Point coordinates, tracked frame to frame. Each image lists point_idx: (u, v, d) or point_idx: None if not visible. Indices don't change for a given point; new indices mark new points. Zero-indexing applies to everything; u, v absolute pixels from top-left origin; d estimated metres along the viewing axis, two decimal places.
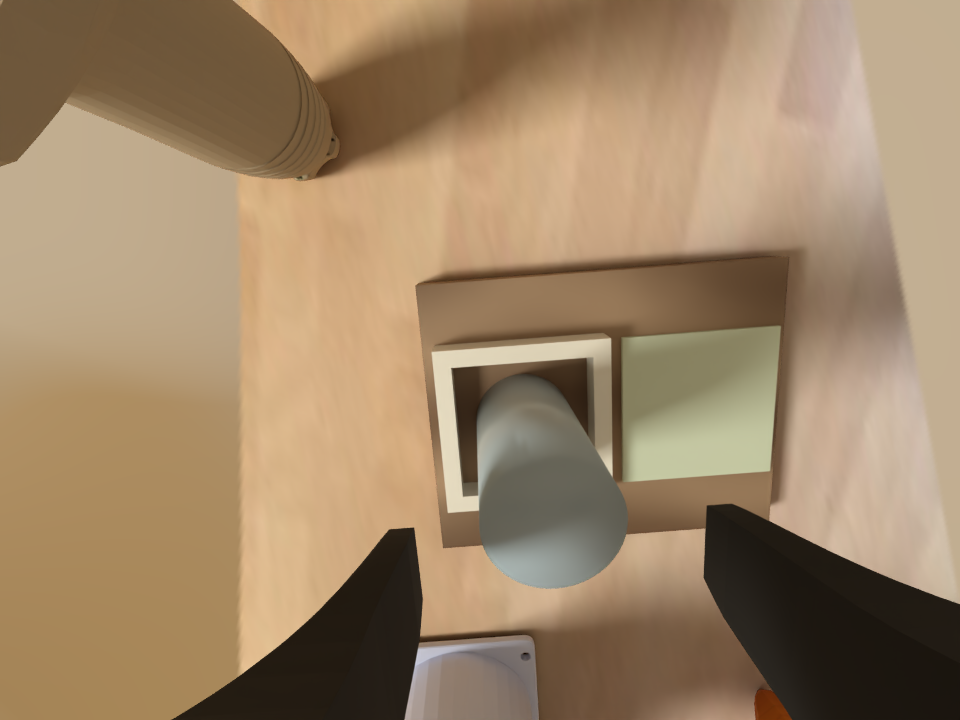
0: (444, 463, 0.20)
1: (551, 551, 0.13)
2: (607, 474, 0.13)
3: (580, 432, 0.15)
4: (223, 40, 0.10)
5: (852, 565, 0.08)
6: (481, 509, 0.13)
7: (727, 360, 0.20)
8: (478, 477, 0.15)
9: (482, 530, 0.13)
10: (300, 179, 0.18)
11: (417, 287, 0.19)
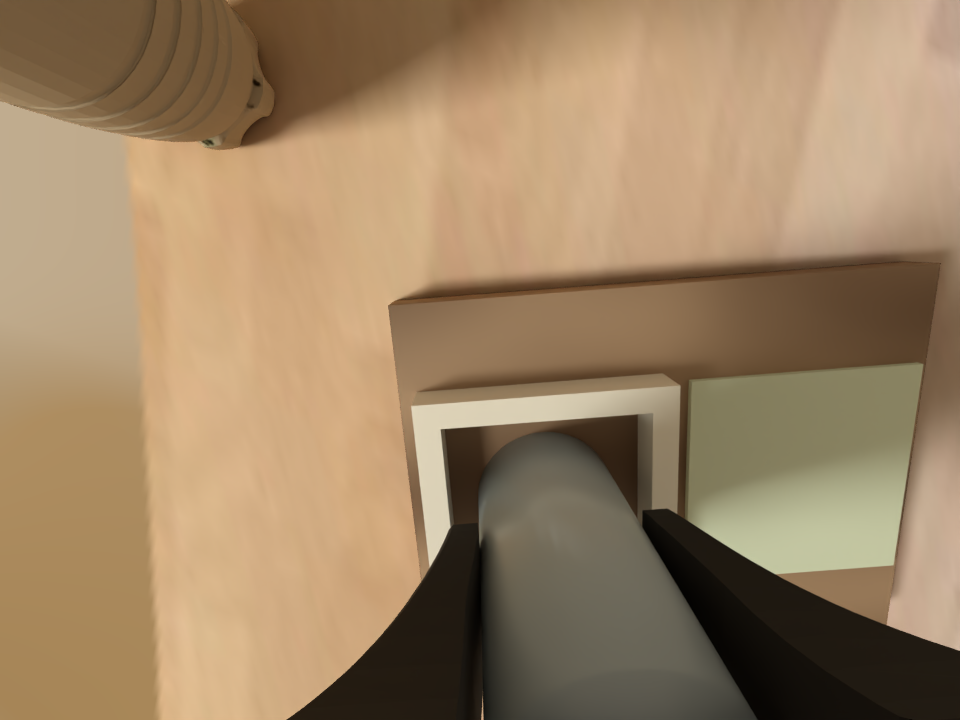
0: (431, 564, 0.14)
1: None
2: (737, 698, 0.06)
3: (656, 566, 0.09)
4: None
5: (763, 572, 0.08)
6: None
7: (843, 413, 0.14)
8: (482, 641, 0.09)
9: None
10: (211, 146, 0.12)
11: (391, 308, 0.13)
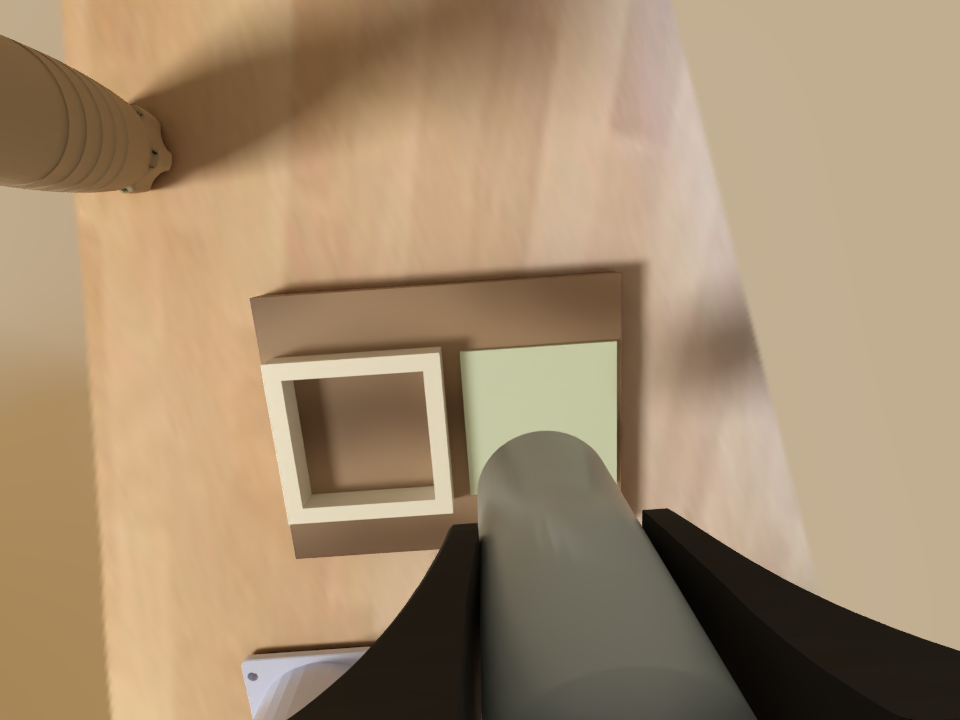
0: (281, 475, 0.20)
1: None
2: (736, 695, 0.06)
3: (655, 564, 0.09)
4: None
5: (763, 572, 0.08)
6: None
7: (566, 375, 0.20)
8: (480, 639, 0.09)
9: None
10: (126, 192, 0.18)
11: (252, 300, 0.19)
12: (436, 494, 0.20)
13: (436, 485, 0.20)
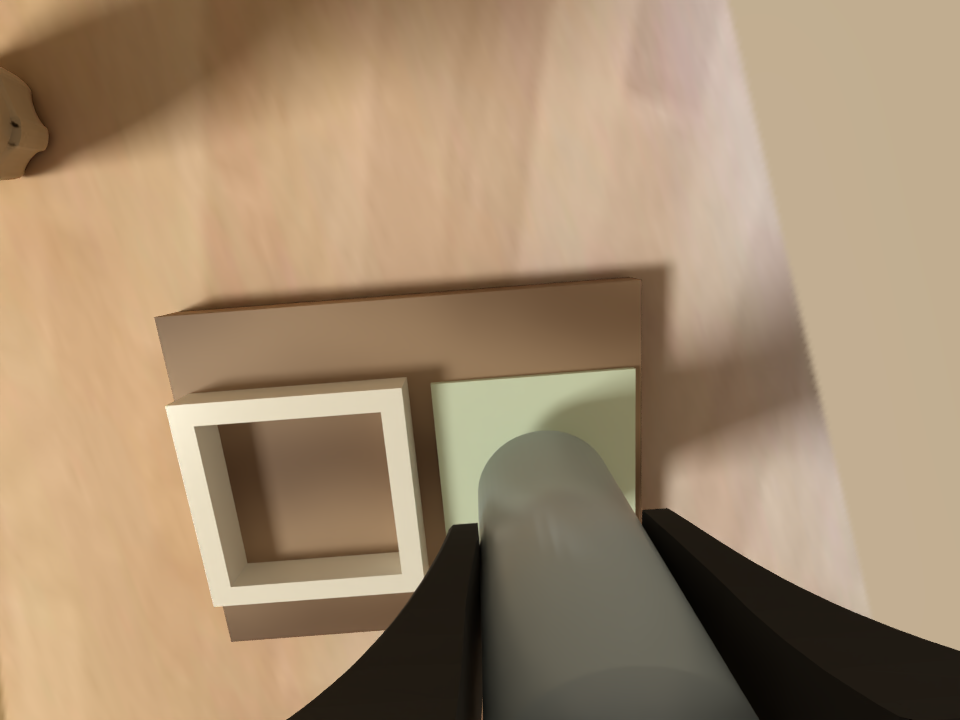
0: (201, 546, 0.15)
1: None
2: (737, 695, 0.06)
3: (656, 564, 0.09)
4: None
5: (763, 572, 0.08)
6: None
7: (570, 412, 0.15)
8: (481, 639, 0.09)
9: None
10: None
11: (157, 319, 0.15)
12: (403, 567, 0.16)
13: (402, 556, 0.16)
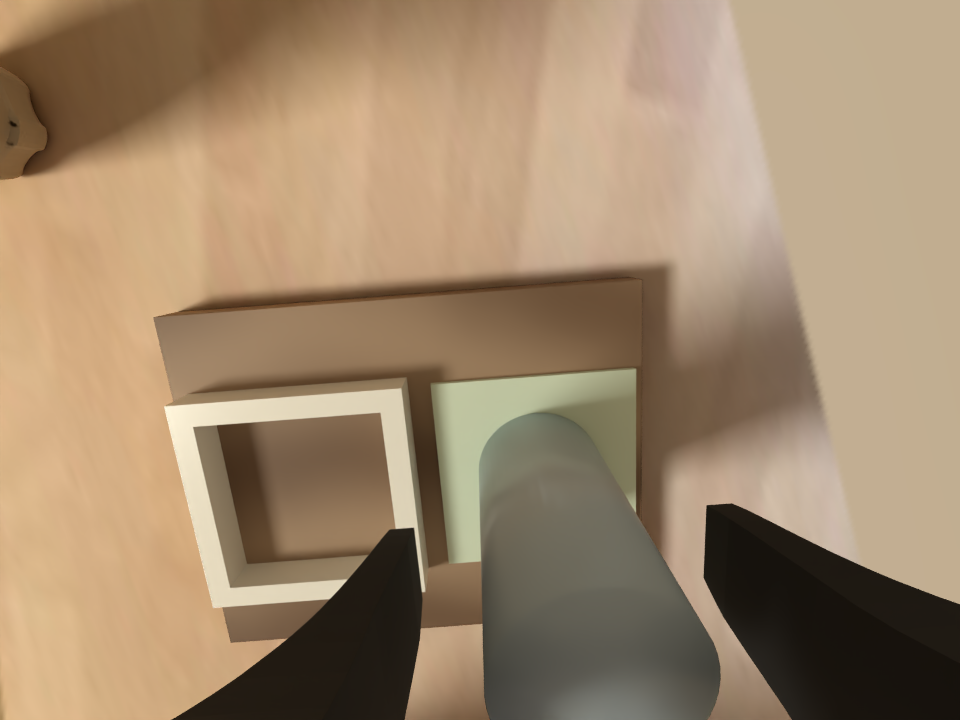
0: (200, 547, 0.15)
1: None
2: (690, 613, 0.08)
3: (631, 519, 0.10)
4: None
5: (852, 565, 0.08)
6: (487, 665, 0.08)
7: (570, 412, 0.15)
8: (482, 584, 0.10)
9: (489, 697, 0.08)
10: None
11: (156, 319, 0.15)
12: None
13: None
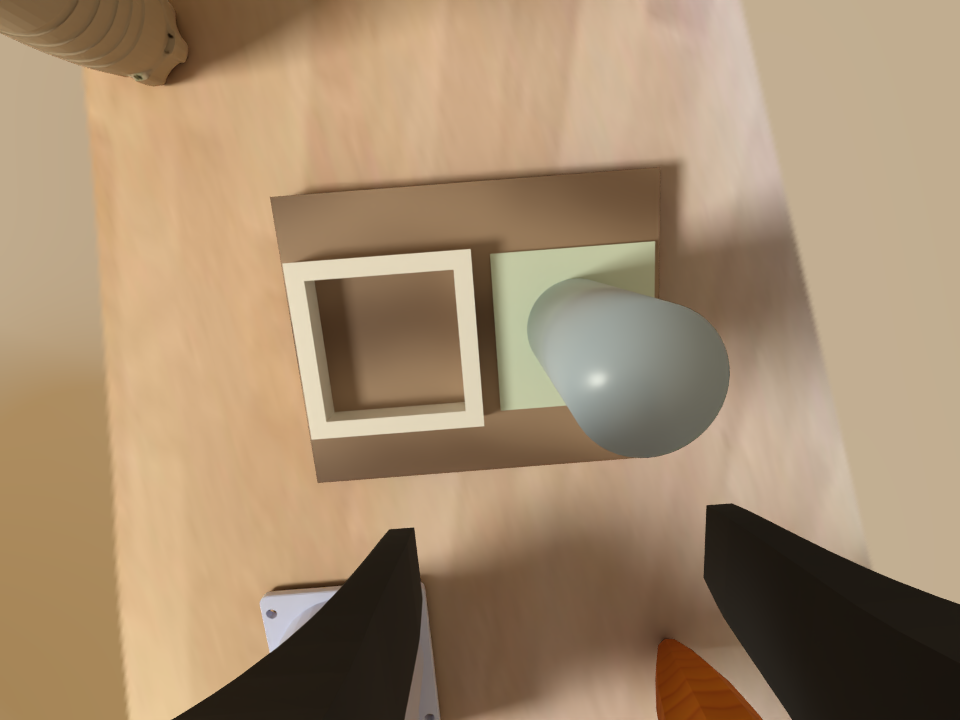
0: (304, 385, 0.19)
1: (645, 413, 0.12)
2: (709, 324, 0.12)
3: None
4: None
5: (852, 565, 0.08)
6: (570, 366, 0.12)
7: (602, 278, 0.19)
8: (551, 355, 0.14)
9: (571, 389, 0.12)
10: (141, 80, 0.17)
11: (272, 199, 0.18)
12: (466, 405, 0.19)
13: (466, 395, 0.19)
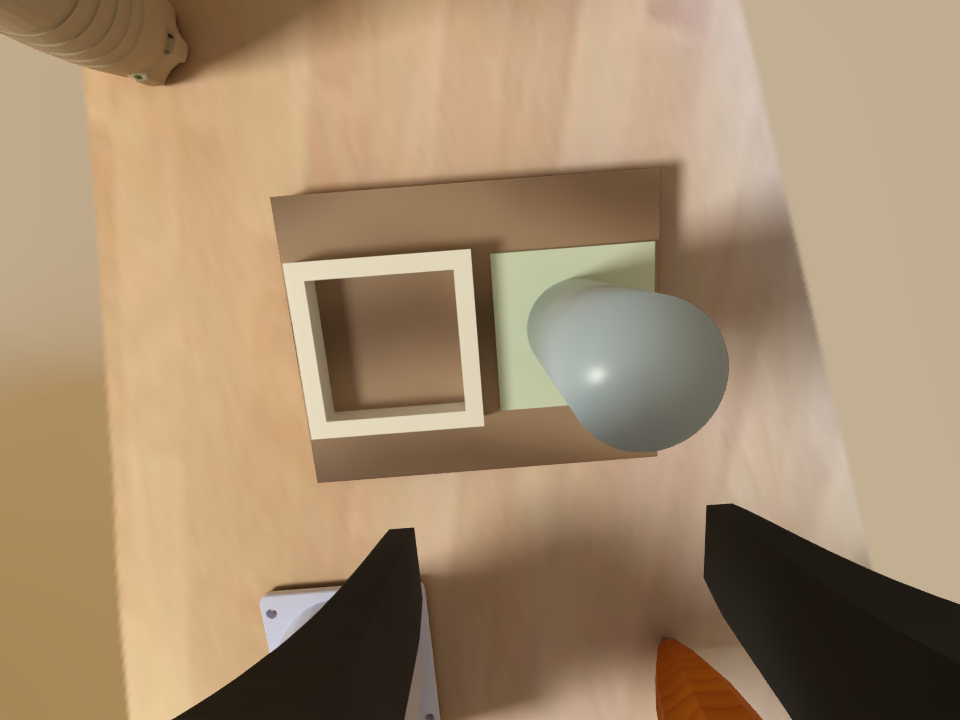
0: (304, 385, 0.19)
1: (644, 407, 0.12)
2: (707, 316, 0.12)
3: None
4: None
5: (852, 565, 0.08)
6: (568, 359, 0.12)
7: (602, 278, 0.19)
8: (550, 351, 0.14)
9: (569, 383, 0.12)
10: (141, 80, 0.17)
11: (272, 199, 0.18)
12: (466, 405, 0.19)
13: (466, 395, 0.19)
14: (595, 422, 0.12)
